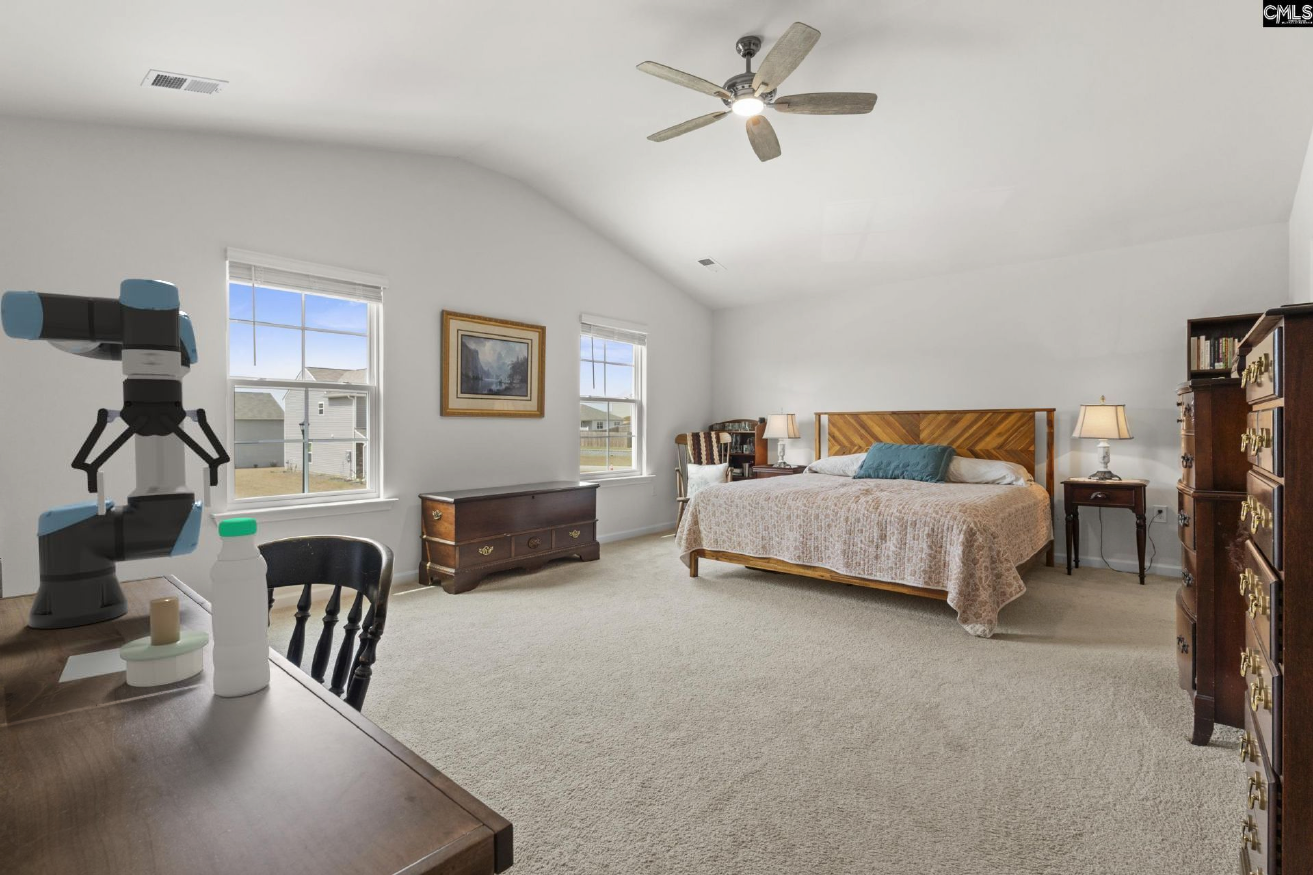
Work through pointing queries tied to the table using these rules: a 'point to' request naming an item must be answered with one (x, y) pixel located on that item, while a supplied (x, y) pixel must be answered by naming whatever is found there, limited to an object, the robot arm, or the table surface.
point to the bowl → (164, 669)
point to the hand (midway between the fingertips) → (156, 509)
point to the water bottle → (239, 612)
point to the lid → (164, 635)
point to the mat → (93, 665)
